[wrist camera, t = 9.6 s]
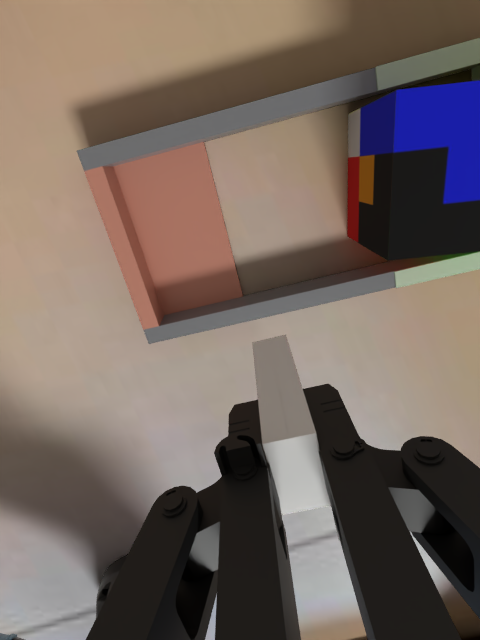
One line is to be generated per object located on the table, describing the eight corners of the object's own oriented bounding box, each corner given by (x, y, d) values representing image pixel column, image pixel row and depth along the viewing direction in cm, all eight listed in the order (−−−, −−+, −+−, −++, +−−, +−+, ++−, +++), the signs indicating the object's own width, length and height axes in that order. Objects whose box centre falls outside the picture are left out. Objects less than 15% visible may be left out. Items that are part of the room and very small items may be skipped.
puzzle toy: (348, 114, 31) (396, 89, 21) (470, 100, 30) (574, 69, 21) (347, 236, 34) (388, 260, 25) (456, 224, 34) (539, 245, 25)
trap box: (155, 331, 38) (143, 353, 33) (90, 152, 32) (65, 149, 27) (489, 253, 35) (528, 266, 30) (491, 40, 29) (540, 16, 24)
